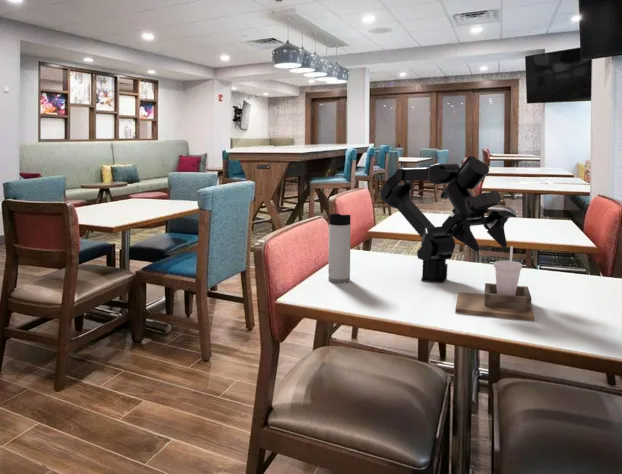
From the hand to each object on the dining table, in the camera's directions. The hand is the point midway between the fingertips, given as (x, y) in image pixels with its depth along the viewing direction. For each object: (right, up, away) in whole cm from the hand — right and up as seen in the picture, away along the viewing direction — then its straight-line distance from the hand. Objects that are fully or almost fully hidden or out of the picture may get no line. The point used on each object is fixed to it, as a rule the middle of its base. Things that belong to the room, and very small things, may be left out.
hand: (492, 248), depth 121 cm
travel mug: (-37, -10, +20) cm, 43 cm away
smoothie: (+2, -13, -2) cm, 14 cm away
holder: (-1, -14, -3) cm, 15 cm away
